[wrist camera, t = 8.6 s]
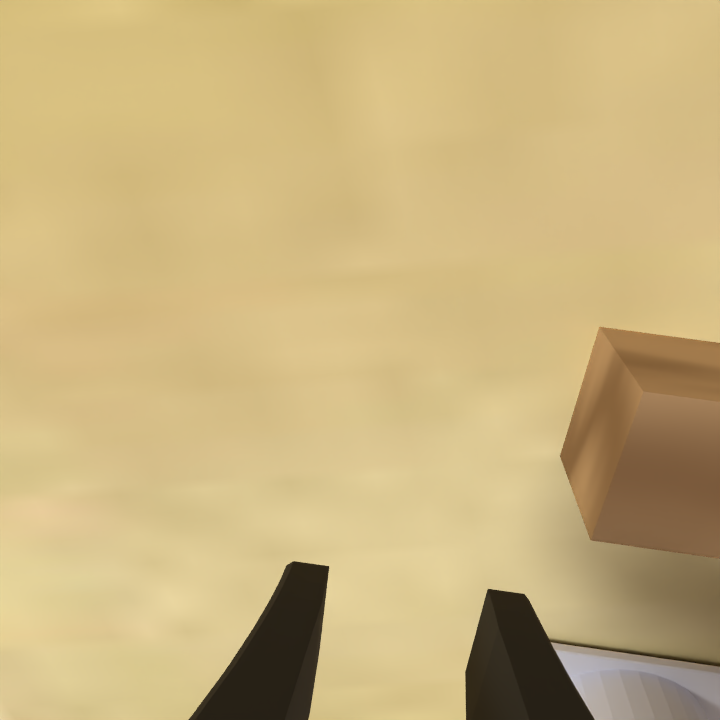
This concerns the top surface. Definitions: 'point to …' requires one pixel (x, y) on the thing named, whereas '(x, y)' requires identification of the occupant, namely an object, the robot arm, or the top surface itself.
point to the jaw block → (648, 443)
